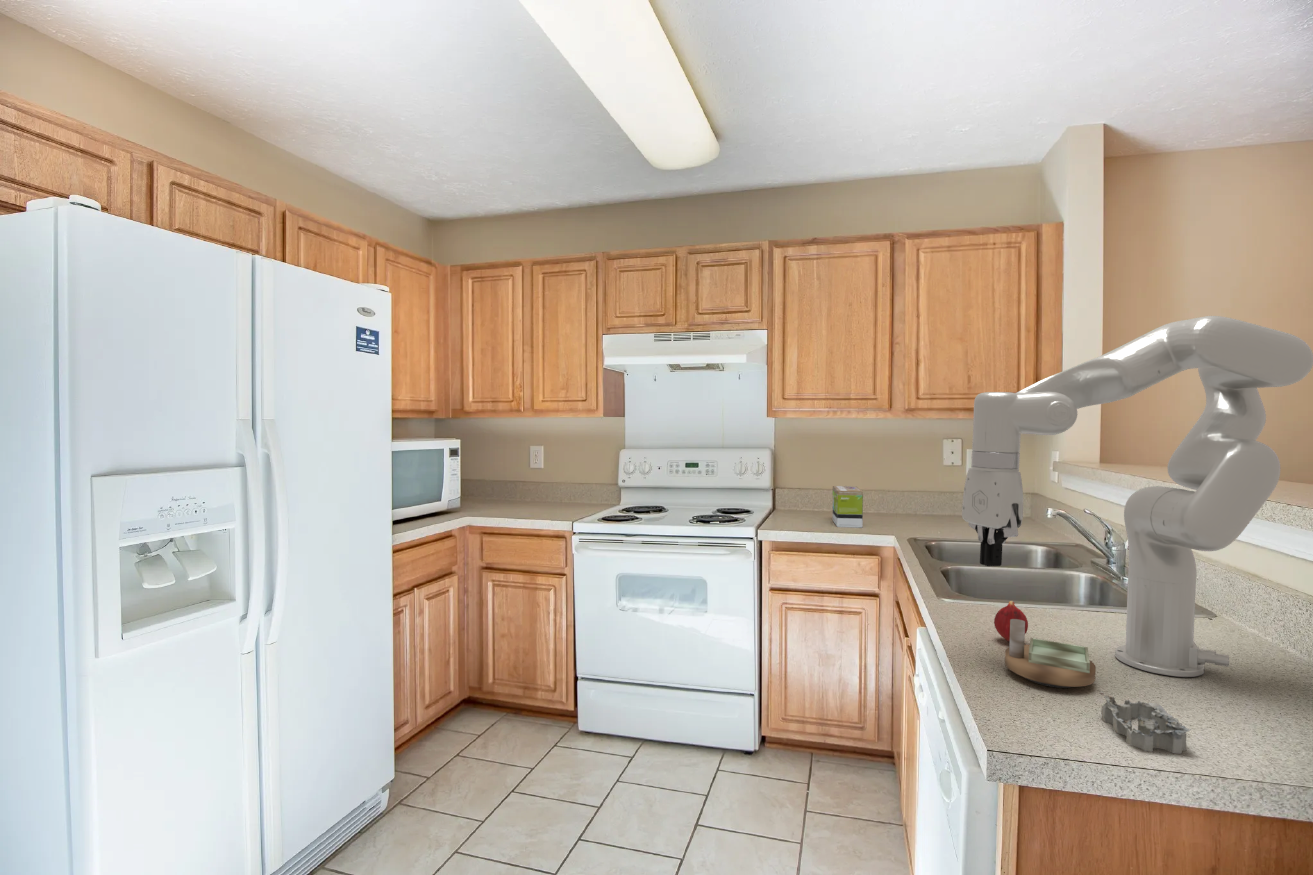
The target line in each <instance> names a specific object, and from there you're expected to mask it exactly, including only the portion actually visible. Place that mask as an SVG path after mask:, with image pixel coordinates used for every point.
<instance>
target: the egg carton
mask: <svg viewBox="0 0 1313 875" xmlns="http://www.w3.org/2000/svg"><path fill="white" fill-rule="evenodd" d="M1098 693H1099V694H1100V695H1102V696H1103V698H1105V701H1106V702H1105V703H1104V704H1103V705H1101V708H1100V711H1101V721H1103V722H1104V723H1108V724H1110V725H1113V726H1112V730H1113V732H1116V733H1117V734H1119V735H1123V736H1125V737H1126V739H1125V742H1126V744H1128V745H1129V746H1131V747H1135V748H1138V749H1140V750H1143V751H1144V752H1154V750H1153V749H1160V750H1161V749H1162V750H1165V751H1166V752H1170V753H1173V754H1176V755H1179V754H1180V755H1182V752H1183V751H1186V750H1187V732H1190V731H1191V730H1192V728H1188V727H1187V726H1185V725H1183V723H1182V722H1180V721H1179V718H1177V717H1174V716H1173V715H1172V714H1170V713H1168V712H1167V711H1166V709H1165V708H1164V707H1163V706H1162V705H1161V704H1159V703H1157V702H1144V701H1142V702H1141V700H1138V701H1137V702H1132V701H1130V700H1129V699H1125V700H1124V702H1123V704H1121V703H1120V704H1119V703H1117V702H1116V700H1115V699H1116V698H1115V697H1114V696H1113V695H1109V694H1107V695H1105V692H1104V691H1103V690H1100V691H1099V692H1098ZM1132 719H1137V723H1138V724H1134V723H1132Z"/></svg>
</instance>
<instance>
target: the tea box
mask: <svg viewBox="0 0 1313 875" xmlns="http://www.w3.org/2000/svg"><path fill="white" fill-rule="evenodd" d="M863 509H864V491H863V490H862V489H860V488H859V487H858V486H853V485H852V486H851V485H849V486H847V485H834V486H832V521H833V522H834V524H835V526H836V527H837V528H850V529H852V528H853V529H855V528H857V529H860V528H861V529H862V528H863V524H864V523H863V521H864V518H863V516H864V515H863V513H864V510H863Z"/></svg>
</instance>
